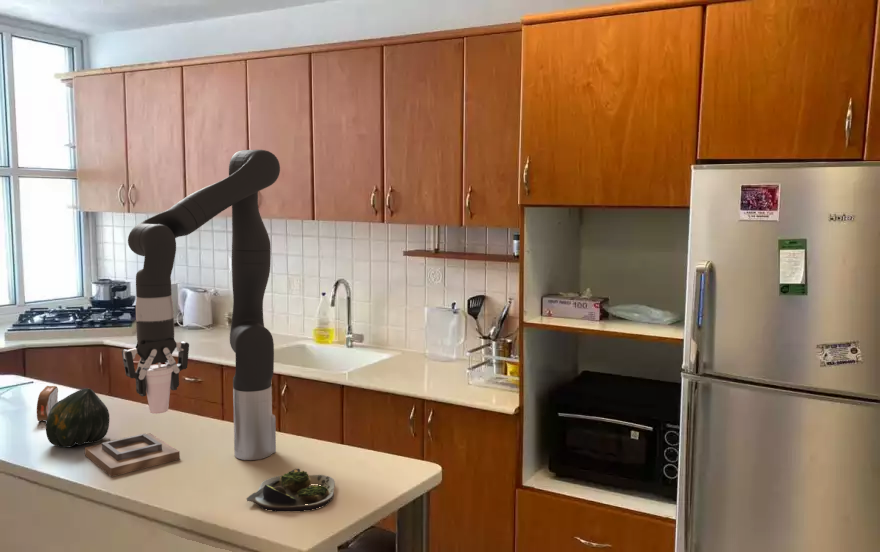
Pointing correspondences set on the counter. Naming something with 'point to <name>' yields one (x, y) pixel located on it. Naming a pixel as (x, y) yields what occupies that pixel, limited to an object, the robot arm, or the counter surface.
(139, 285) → the robot arm
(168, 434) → the counter surface
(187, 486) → the counter surface
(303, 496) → the salad plate
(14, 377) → the counter surface
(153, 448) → the base board
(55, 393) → the tin
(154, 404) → the smoothie
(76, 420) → the squash
